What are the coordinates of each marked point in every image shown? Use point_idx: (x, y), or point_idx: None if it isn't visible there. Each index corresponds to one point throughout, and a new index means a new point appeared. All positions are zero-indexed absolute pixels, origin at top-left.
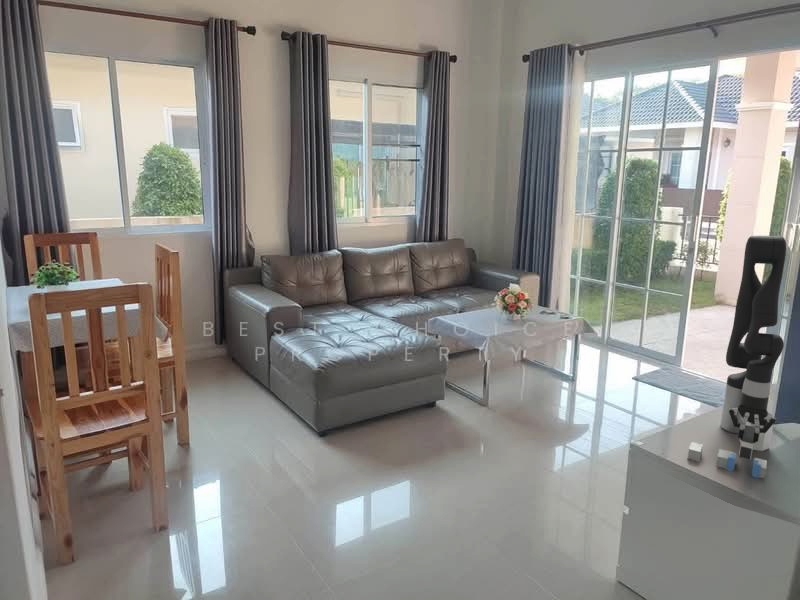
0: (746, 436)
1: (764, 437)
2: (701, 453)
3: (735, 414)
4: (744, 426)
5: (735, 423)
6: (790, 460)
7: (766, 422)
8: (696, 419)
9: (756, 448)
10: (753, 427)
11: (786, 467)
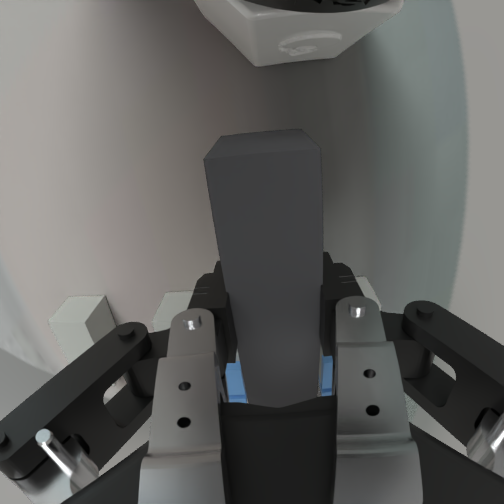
0: (266, 365)
1: (362, 37)
2: (105, 311)
3: (90, 464)
4: (227, 398)
5: (142, 405)
6: (456, 90)
7: None
8: None
9: (306, 59)
10: (300, 166)
11: (445, 182)
